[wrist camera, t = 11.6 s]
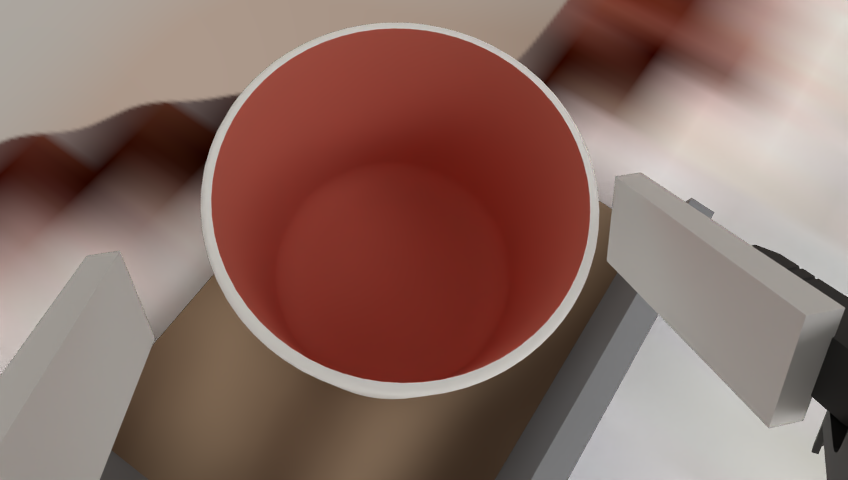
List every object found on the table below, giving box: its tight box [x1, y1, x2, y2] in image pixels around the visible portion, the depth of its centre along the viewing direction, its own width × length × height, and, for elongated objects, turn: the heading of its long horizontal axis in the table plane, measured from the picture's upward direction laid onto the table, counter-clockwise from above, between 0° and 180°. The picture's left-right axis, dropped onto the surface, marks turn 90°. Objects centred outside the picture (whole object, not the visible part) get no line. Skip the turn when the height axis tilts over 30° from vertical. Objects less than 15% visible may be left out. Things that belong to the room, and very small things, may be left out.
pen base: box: [112, 201, 617, 480], centre depth 23 cm, size 15×21×1 cm
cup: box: [200, 22, 599, 399], centre depth 18 cm, size 10×10×10 cm
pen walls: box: [100, 198, 714, 480], centre depth 20 cm, size 15×21×4 cm
